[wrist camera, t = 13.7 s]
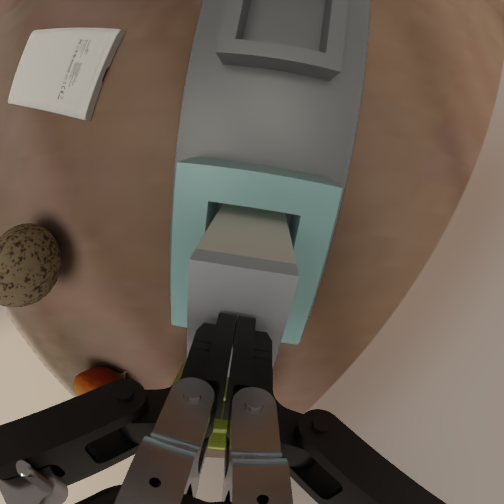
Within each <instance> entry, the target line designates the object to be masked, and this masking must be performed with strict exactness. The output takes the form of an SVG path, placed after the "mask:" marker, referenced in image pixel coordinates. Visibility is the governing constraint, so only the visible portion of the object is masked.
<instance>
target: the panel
mask: <svg viewBox="0 0 504 504" xmlns="http://www.w3.org/2000/svg"><path fill="white" fill-rule="evenodd" d="M370 2H371V0H203V3H202V7H201V11H200V15H199V19H198V23H197V27H196V32H195V36H194V41H193V45H192V50H191V55H190V60H189V66H188V71H187V77H186V82H185V88H184V95H183V101H182V108H181V115H180V122H179V130H178V139H177V147H176V157H175V167H174V179H173V192H172V207H171V226H170V258H169V296H171V325H175V326H180V327H185V328H187V304H188V277H189V259H190V257H191V256H192V254H193V252H194V250H195V249H196V247H197V245H198V244H199V242H200V240H201V239H202V237H203V235H204V234H205V232H206V231H207V229H208V227H209V226H210V224H211V222H212V221H213V219H214V218H215V216H216V214H217V213H218V211H219V209H220V208H221V206H222V205H223V203H225V204H231V205H238V206H245V207H251V208H258V209H264V210H270V211H276V212H282V213H285V215H286V220H287V224H288V228H289V233H290V237H291V241H292V246H293V250H294V255H295V260H296V264H297V269H298V274H299V279H298V283H297V286H296V290H295V294H294V298H293V301H292V305H291V309H290V312H289V316H288V320H287V323H286V327H285V330H284V334H283V337H282V340H281V343H290V344H299V342H300V339H301V336H302V333H303V330H304V327H305V324H306V321H307V318H310V314H311V311H312V308H313V305H314V302H315V299H316V295H317V292H318V289H319V286H320V282H321V279H322V275H323V272H324V268H325V265H326V261H327V258H328V254H329V251H330V247H331V243H332V239H333V235H334V232H335V228H336V224H337V220H338V216H339V211H340V207H341V203H342V199H343V194H344V190H345V185H346V181H347V176H348V171H349V166H350V162H351V156H352V151H353V146H354V141H355V135H356V129H357V123H358V117H359V111H360V105H361V98H362V91H363V83H364V75H365V67H366V57H367V47H368V36H369V22H370Z"/></svg>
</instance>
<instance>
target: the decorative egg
mask: <svg viewBox="0 0 504 504" xmlns="http://www.w3.org/2000/svg"><path fill="white" fill-rule="evenodd" d="M60 269H61V253H60V249H59V245H58V243H57V241H56V239H55V238H54V236H53V235H52V234H51V233H50V232H49V231H48V230H47V229H45V228H44V227H42V226H39V225H36V224H21V225H18V226H15V227H13V228H11V229H10V230H8V231H7V232H5V233H4V234H3V235H2V236H1V237H0V305H3V306H8V307H22V306H27V305H30V304H33V303H35V302H37V301H39V300H41V299H42V298H43V297H45V296H46V295H47V294H48V293H49V292H50V290H51V289H52V288H53V286H54V285H55V283H56V281H57V279H58V276H59V273H60Z"/></svg>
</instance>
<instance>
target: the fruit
mask: <svg viewBox="0 0 504 504" xmlns="http://www.w3.org/2000/svg"><path fill="white" fill-rule="evenodd" d="M127 372H128V371H127V370H126V371H125V372H123V373H118V372H116V371H113V370H111V369H109V368H107V367H95V368H93V369H90V370H87V371H84V372H82V373H80V374H79V375H77V376H76V377H75V381H74V390H75V393H76V395H77V396H79V395H82V394H84V393H86V392H89V391H91V390H93V389H96V388H98V387H100V386H102V385H105V384H107V383H109V382H111V381H114V380H116V379H121V378H126V375H125V374H126V373H127Z"/></svg>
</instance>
